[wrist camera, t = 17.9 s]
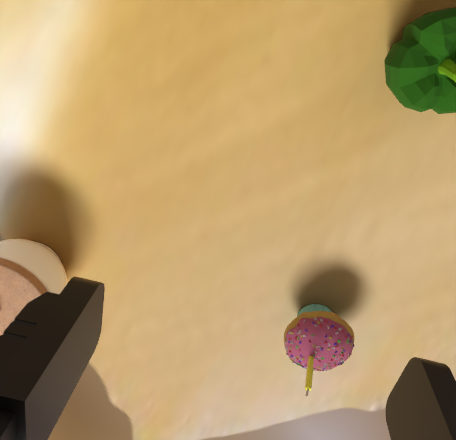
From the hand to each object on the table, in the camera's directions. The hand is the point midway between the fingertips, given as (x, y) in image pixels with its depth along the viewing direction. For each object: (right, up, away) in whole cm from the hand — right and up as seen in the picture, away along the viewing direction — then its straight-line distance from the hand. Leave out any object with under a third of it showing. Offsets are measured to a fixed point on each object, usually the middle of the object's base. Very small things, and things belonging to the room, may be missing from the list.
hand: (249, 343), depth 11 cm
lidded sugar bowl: (-26, -3, +46) cm, 53 cm away
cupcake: (+11, -10, +45) cm, 47 cm away
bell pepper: (+18, +19, +29) cm, 39 cm away
